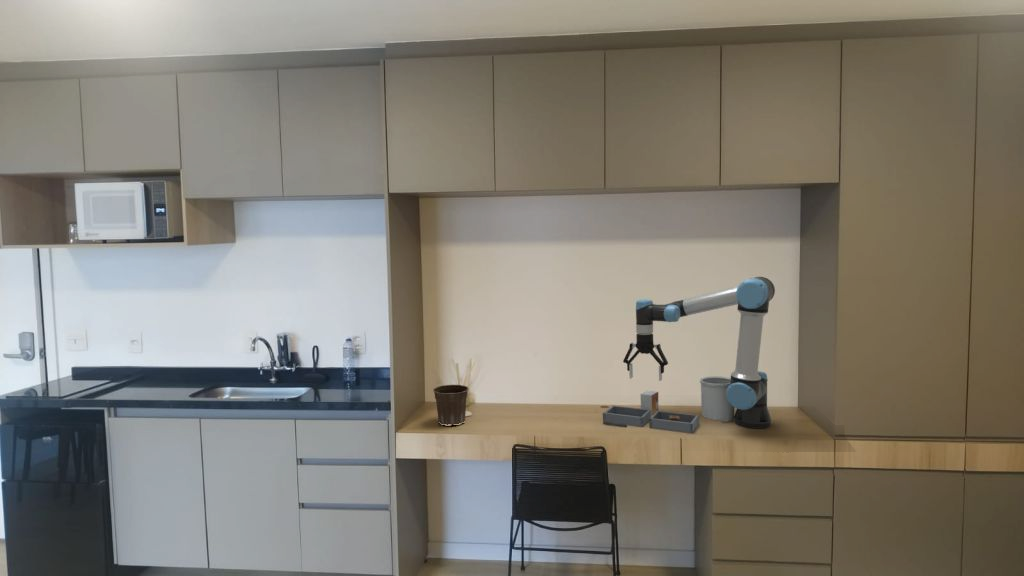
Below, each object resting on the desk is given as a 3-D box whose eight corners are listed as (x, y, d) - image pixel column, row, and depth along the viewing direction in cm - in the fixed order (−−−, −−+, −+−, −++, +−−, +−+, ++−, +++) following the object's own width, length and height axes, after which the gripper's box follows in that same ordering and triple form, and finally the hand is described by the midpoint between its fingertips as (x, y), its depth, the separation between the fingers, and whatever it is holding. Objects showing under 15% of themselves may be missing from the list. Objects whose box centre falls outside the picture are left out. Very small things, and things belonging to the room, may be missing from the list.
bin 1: (651, 420, 263) (650, 409, 263) (642, 429, 252) (642, 417, 251) (612, 415, 272) (612, 405, 271) (603, 424, 261) (602, 413, 260)
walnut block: (679, 424, 253) (679, 415, 253) (679, 427, 249) (679, 418, 249) (669, 424, 254) (669, 415, 254) (669, 427, 250) (669, 418, 250)
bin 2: (699, 426, 253) (698, 415, 252) (692, 435, 242) (692, 423, 241) (657, 421, 262) (657, 410, 261) (649, 430, 250) (649, 418, 250)
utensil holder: (700, 421, 259) (700, 383, 258) (700, 412, 273) (699, 375, 272) (736, 423, 255) (736, 384, 253) (733, 413, 269) (733, 376, 267)
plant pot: (476, 419, 273) (474, 385, 272) (458, 430, 259) (457, 394, 258) (446, 416, 280) (444, 383, 279) (427, 426, 266) (426, 391, 264)
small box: (651, 417, 267) (651, 395, 266) (640, 416, 270) (640, 393, 270) (659, 413, 273) (658, 391, 273) (647, 411, 277) (647, 389, 276)
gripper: (674, 333, 264) (674, 379, 266) (620, 331, 276) (621, 375, 277) (670, 335, 258) (671, 382, 259) (615, 333, 269) (616, 378, 271)
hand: (645, 379), depth 268 cm, fingers open, 13 cm apart
